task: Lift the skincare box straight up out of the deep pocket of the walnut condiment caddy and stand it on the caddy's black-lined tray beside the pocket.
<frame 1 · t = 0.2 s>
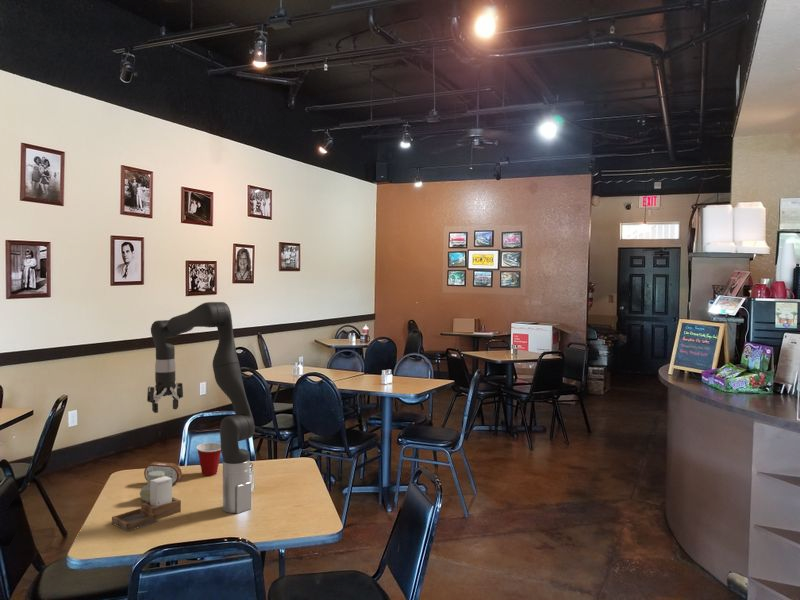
hand: (165, 410, 238), 29 cm above the table, tool pointing down, fingers open, 8 cm apart
caddy: (151, 517, 204), on the table
plastic cup: (209, 474, 251), on the table
skincare box: (161, 513, 208), resting in caddy
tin: (162, 484, 238), on the table
air freshener: (156, 500, 221), on the table
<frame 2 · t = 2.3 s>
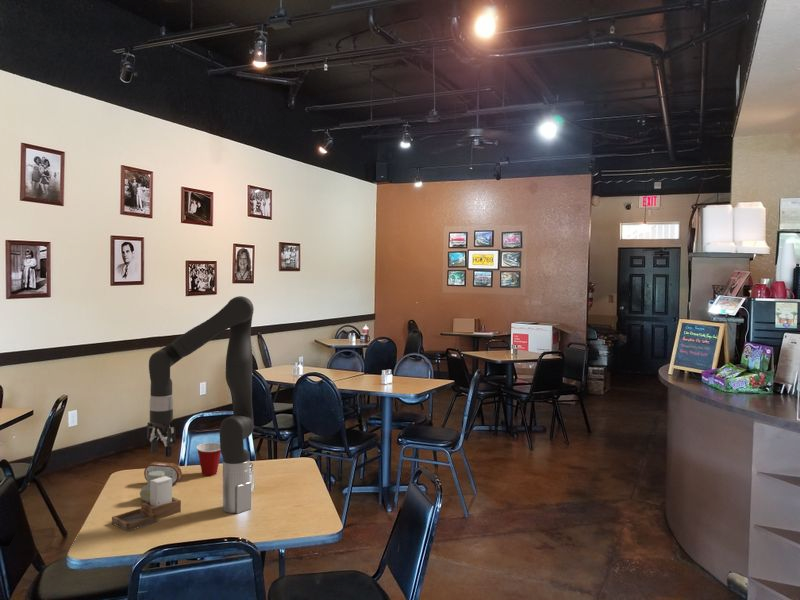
hand: (161, 454, 207), 21 cm above the table, tool pointing down, fingers open, 8 cm apart
nothing on the table moved.
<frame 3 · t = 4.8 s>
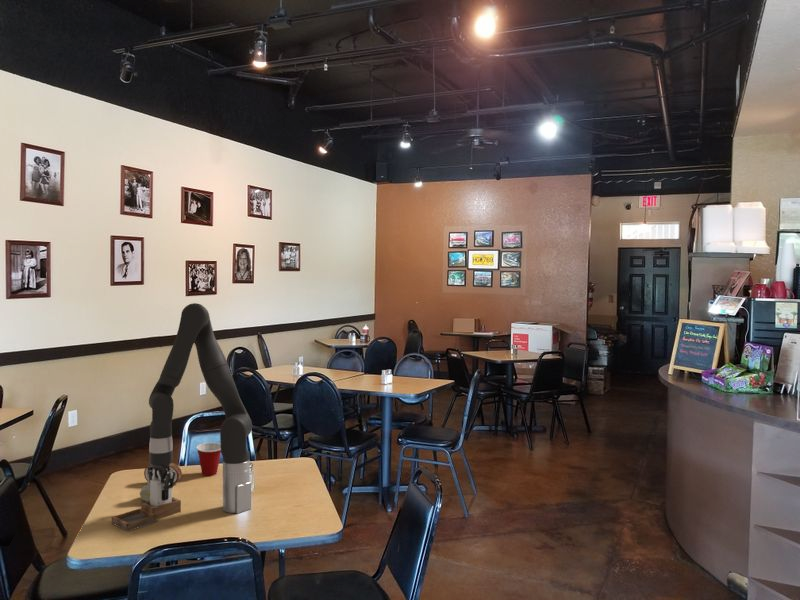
hand: (161, 498, 208), 5 cm above the table, tool pointing down, fingers closed on skincare box, 4 cm apart
skincare box: (161, 513, 208), resting in caddy, touching gripper
everything else where it was.
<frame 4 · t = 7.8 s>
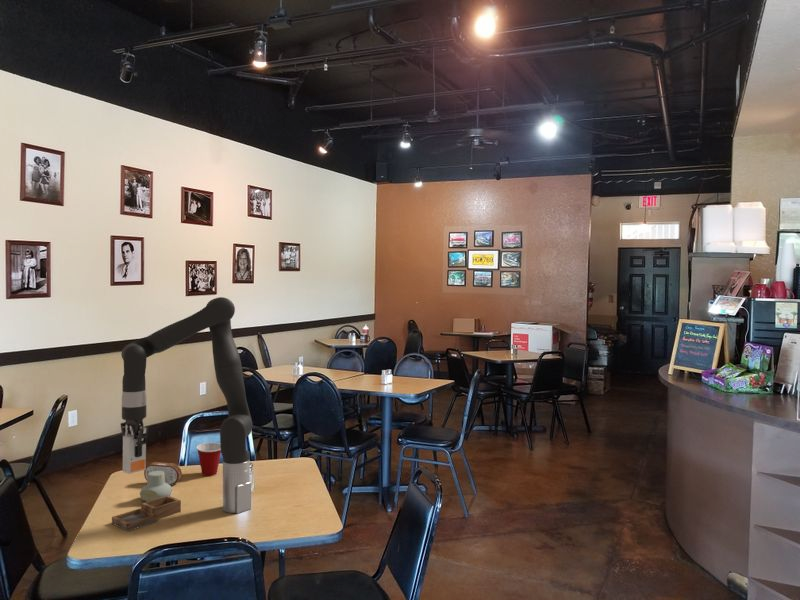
hand: (134, 455, 199), 23 cm above the table, tool pointing down, fingers closed on skincare box, 4 cm apart
skincare box: (134, 471, 199), point 17 cm above the table, touching gripper
everything else where it was.
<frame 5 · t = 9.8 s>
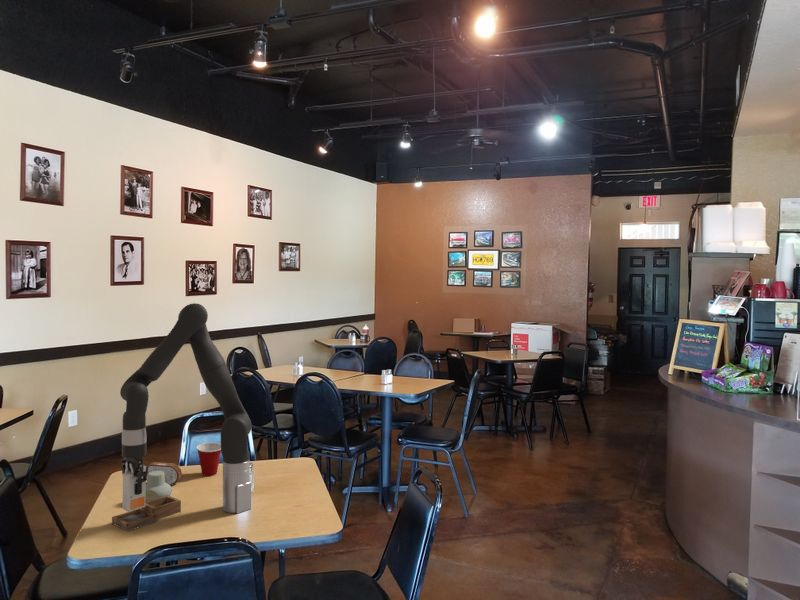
hand: (134, 492, 199), 10 cm above the table, tool pointing down, fingers closed on skincare box, 4 cm apart
skincare box: (134, 508, 200), point 5 cm above the table, touching gripper
everything else where it was.
when the fingers open (8 cm above the table, at t = 11.2 s): skincare box drops 1 cm, resting on caddy.
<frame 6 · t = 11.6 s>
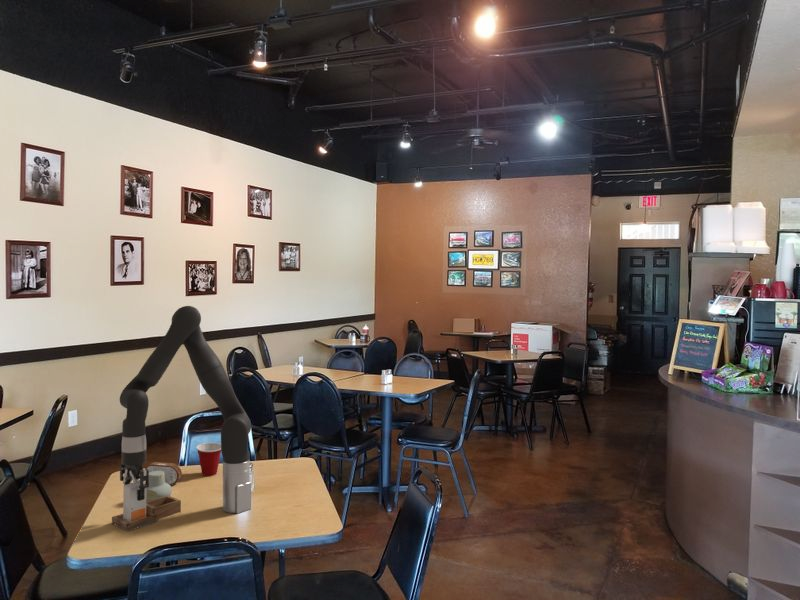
hand: (134, 497, 199), 9 cm above the table, tool pointing down, fingers open, 8 cm apart
skincare box: (135, 520, 199), point 1 cm above the table, touching caddy
everything else where it was.
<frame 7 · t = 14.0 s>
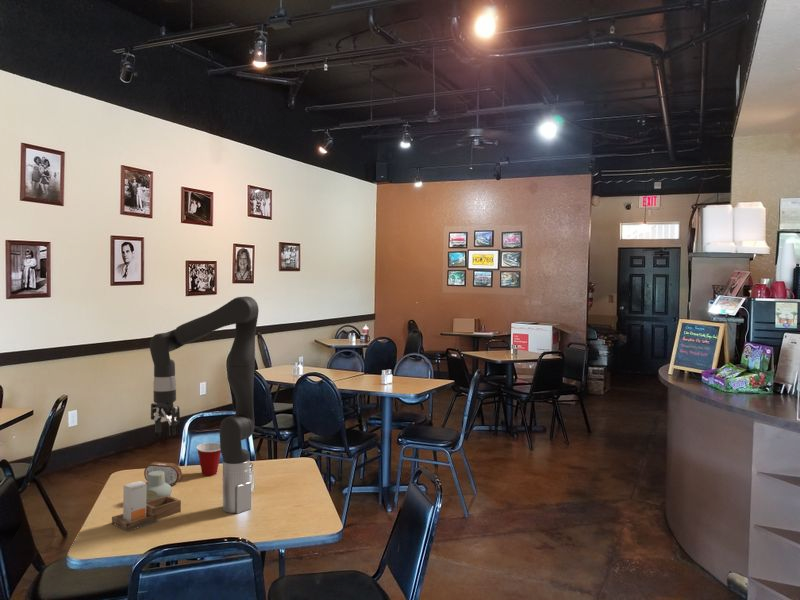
hand: (165, 433, 214), 26 cm above the table, tool pointing down, fingers open, 8 cm apart
nothing on the table moved.
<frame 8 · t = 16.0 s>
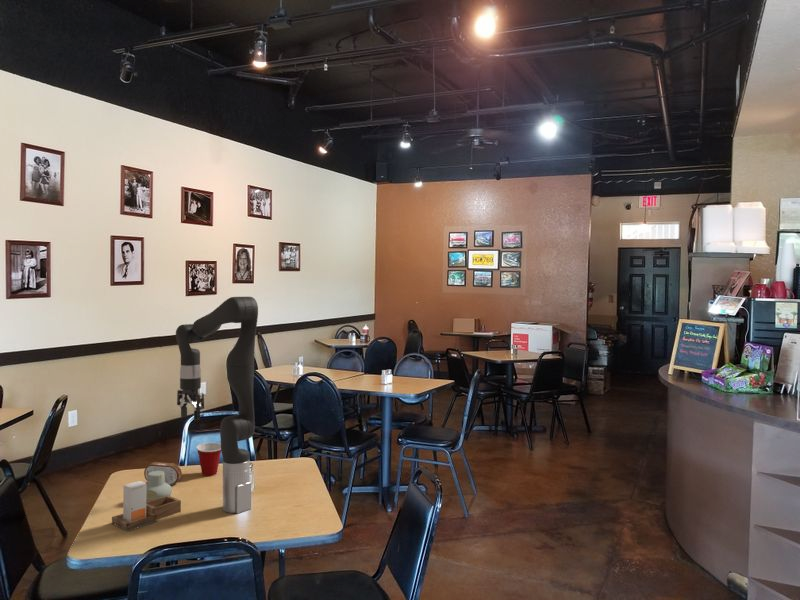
hand: (190, 418, 229), 28 cm above the table, tool pointing down, fingers open, 8 cm apart
nothing on the table moved.
at the end: skincare box inside the target area on the caddy (0.4 cm from its centre), point 0.8 cm above the caddy's base; skincare box tilted 0°; the gripper is holding nothing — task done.
